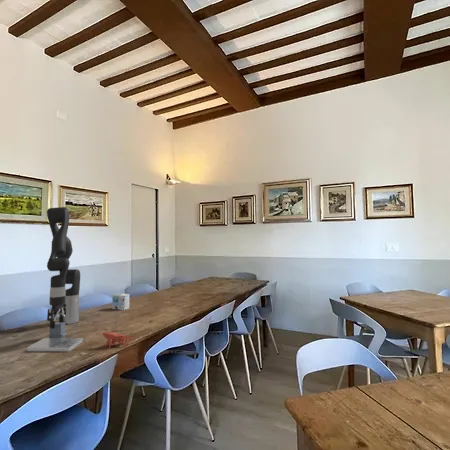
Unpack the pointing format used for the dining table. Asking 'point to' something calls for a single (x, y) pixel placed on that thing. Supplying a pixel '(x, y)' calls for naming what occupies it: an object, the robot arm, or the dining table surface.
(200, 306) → the dining table surface
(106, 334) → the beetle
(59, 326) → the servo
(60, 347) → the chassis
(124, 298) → the light bulb box
